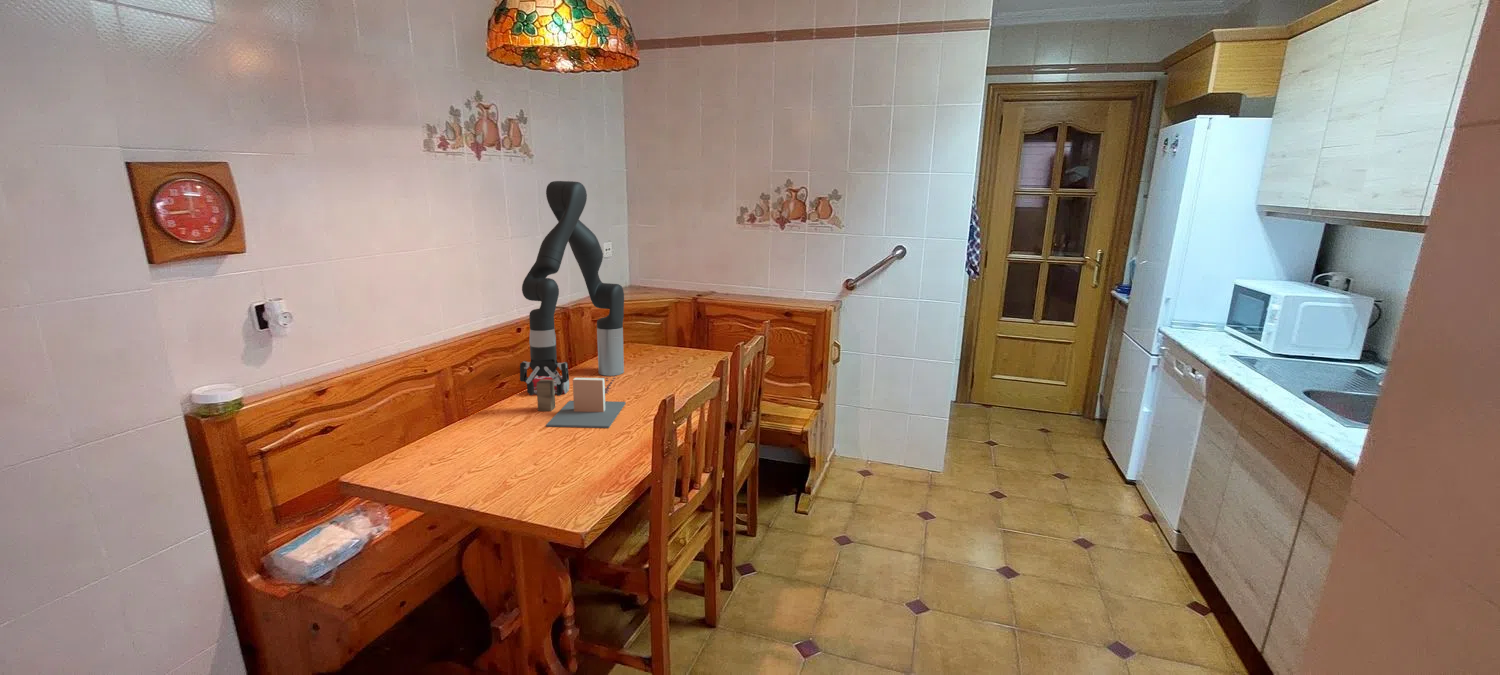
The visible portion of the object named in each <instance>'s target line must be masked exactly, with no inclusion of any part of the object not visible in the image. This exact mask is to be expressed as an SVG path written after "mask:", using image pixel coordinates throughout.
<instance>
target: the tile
mask: <svg viewBox="0 0 1500 675" xmlns="http://www.w3.org/2000/svg"><path fill="white" fill-rule="evenodd" d="M605 384H606V380H605V377H574V378H573V379H572V396H573V401H574V411H580V412H604V411H605V401H606V393H605V388H606V386H605Z"/></svg>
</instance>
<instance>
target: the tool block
mask: <svg viewBox="0 0 1500 675" xmlns="http://www.w3.org/2000/svg"><path fill="white" fill-rule="evenodd" d="M536 384H537V394H536V395H537V396H536V398H537V401H536V402H537V412H552V411H553V410H554V409H555V408H556V394H555V391H554V380H547V379H541V380H540V381H538V382H537V383H536Z"/></svg>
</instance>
